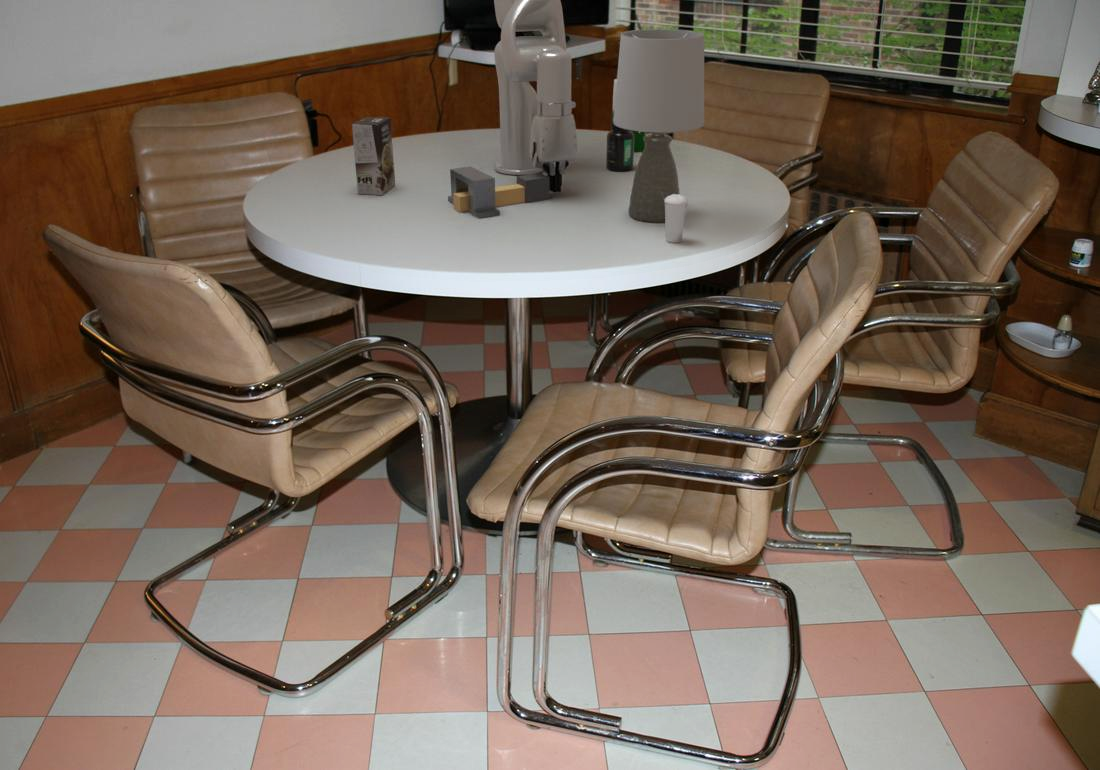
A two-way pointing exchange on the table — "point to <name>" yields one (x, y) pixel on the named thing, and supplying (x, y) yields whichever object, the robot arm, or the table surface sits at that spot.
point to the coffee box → (373, 155)
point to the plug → (512, 192)
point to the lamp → (658, 107)
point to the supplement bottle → (619, 149)
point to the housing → (475, 190)
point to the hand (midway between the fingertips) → (554, 190)
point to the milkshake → (674, 217)
